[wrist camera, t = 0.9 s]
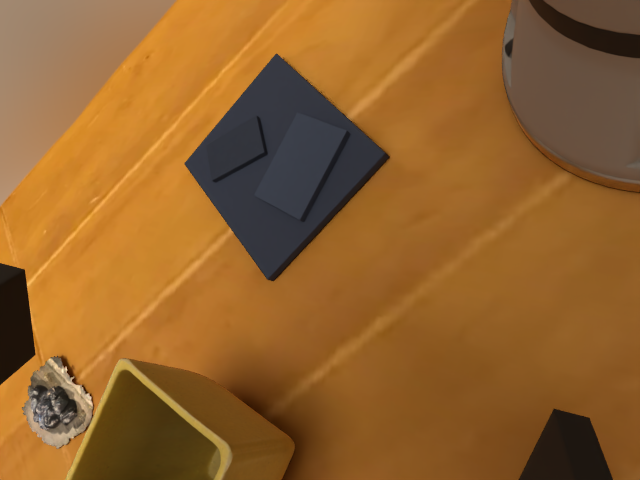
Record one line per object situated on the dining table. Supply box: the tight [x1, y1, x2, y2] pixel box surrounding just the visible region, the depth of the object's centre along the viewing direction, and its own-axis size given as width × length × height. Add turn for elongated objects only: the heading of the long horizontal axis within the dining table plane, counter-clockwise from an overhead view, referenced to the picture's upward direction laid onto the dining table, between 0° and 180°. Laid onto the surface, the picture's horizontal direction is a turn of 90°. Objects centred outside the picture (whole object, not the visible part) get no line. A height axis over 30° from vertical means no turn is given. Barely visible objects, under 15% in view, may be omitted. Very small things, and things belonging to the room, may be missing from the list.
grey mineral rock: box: [22, 356, 93, 449], centre depth 39 cm, size 7×8×2 cm
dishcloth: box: [185, 54, 389, 281], centre depth 34 cm, size 11×13×1 cm
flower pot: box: [65, 358, 295, 480], centre depth 27 cm, size 9×9×9 cm
